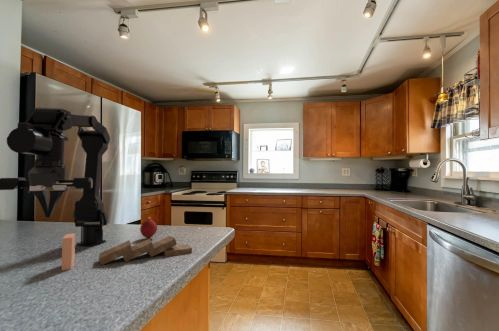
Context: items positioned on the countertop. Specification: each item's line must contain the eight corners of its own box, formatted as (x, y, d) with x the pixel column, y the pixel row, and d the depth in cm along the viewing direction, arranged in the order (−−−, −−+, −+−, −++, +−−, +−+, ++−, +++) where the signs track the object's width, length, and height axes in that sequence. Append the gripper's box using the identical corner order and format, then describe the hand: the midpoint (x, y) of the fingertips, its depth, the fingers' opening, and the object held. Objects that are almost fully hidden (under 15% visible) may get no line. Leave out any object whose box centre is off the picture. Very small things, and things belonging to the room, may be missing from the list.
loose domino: (61, 270, 64) (62, 238, 65) (65, 264, 69) (66, 234, 69) (71, 269, 65) (72, 237, 65) (74, 262, 70) (75, 233, 70)
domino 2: (122, 255, 70) (151, 242, 74) (121, 250, 75) (149, 238, 78) (125, 262, 70) (154, 248, 74) (124, 256, 75) (151, 244, 79)
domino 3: (149, 250, 74) (175, 238, 79) (144, 247, 78) (169, 235, 83) (151, 257, 74) (176, 244, 79) (146, 253, 78) (171, 241, 83)
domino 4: (165, 251, 76) (192, 248, 79) (162, 247, 80) (187, 244, 84) (165, 258, 75) (191, 254, 79) (162, 253, 80) (187, 250, 84)
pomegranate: (151, 241, 92) (151, 218, 92) (136, 240, 93) (137, 218, 93) (159, 237, 98) (160, 216, 98) (146, 236, 99) (146, 215, 99)
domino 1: (98, 258, 68) (129, 244, 71) (99, 253, 72) (129, 240, 75) (101, 265, 68) (132, 251, 71) (102, 259, 72) (131, 246, 76)
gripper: (-14, 152, 54) (-17, 226, 54) (89, 155, 63) (88, 219, 62) (6, 155, 64) (4, 218, 64) (93, 158, 73) (92, 213, 72)
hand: (48, 217), depth 65 cm, fingers closed
